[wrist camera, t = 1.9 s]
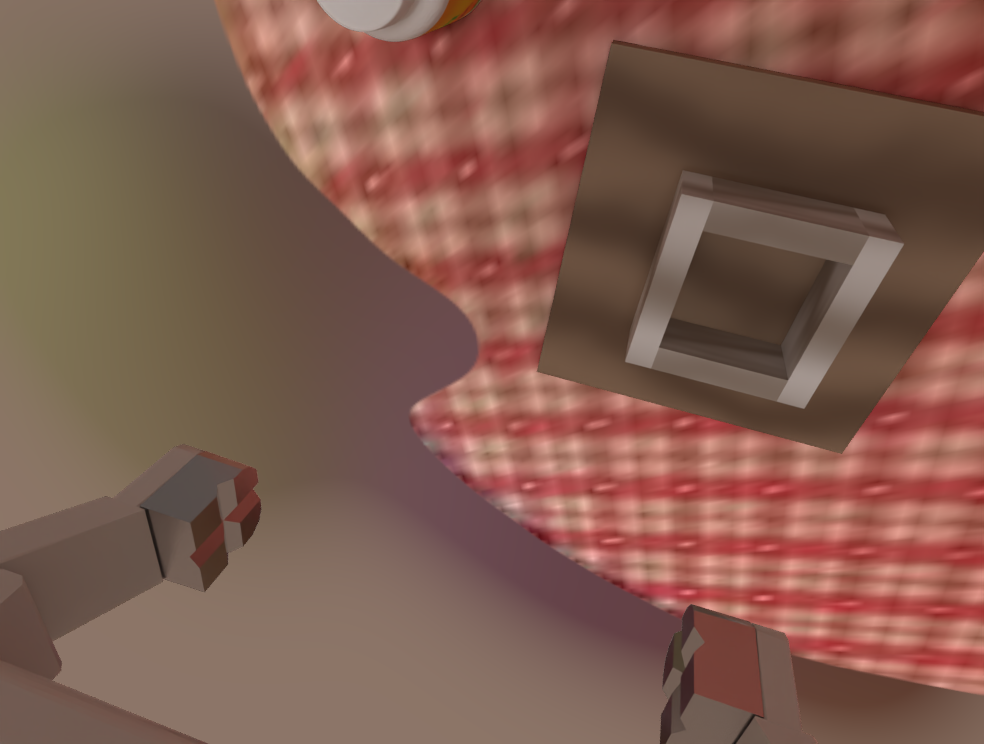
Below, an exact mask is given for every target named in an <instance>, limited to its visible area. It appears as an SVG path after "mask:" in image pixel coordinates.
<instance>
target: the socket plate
mask: <svg viewBox="0 0 984 744" xmlns="http://www.w3.org/2000/svg"><path fill="white" fill-rule="evenodd" d="M983 252H984V112H979V111H974V110H969V109H964V108H959V107H954V106H949V105H943V104H938V103H933V102H928V101H923V100H918V99H913V98H908V97H903V96H897V95H892V94H887V93H882V92H877V91H872V90H867V89H862V88H857V87H851V86H846V85H841V84H836V83H831V82H826V81H821V80H816V79H810V78H805V77H800V76H795V75H790V74H785V73H780V72H775V71H770V70H764V69H759V68H754V67H749V66H744V65H739V64H734V63H729V62H723V61H718V60H713V59H708V58H703V57H698V56H693V55H688V54H683V53H677V52H672V51H667V50H662V49H657V48H652V47H647V46H642V45H637V44H631V43H626V42H621V41H616V40H613V42H612V43H611V48H610V52H609V56H608V61H607V65H606V70H605V74H604V79H603V83H602V87H601V92H600V96H599V101H598V105H597V109H596V114H595V118H594V123H593V127H592V131H591V136H590V140H589V145H588V149H587V154H586V158H585V162H584V167H583V171H582V176H581V180H580V184H579V189H578V193H577V198H576V202H575V206H574V211H573V215H572V220H571V224H570V228H569V233H568V237H567V242H566V246H565V251H564V255H563V259H562V264H561V268H560V273H559V277H558V281H557V286H556V290H555V295H554V299H553V303H552V308H551V312H550V317H549V321H548V326H547V330H546V334H545V339H544V343H543V348H542V352H541V356H540V361H539V365H538V370H537V372H540V373H544V374H548V375H551V376H555V377H559V378H562V379H566V380H570V381H574V382H577V383H581V384H585V385H588V386H592V387H596V388H600V389H603V390H607V391H611V392H614V393H618V394H622V395H625V396H629V397H633V398H637V399H640V400H644V401H648V402H651V403H655V404H659V405H663V406H666V407H670V408H674V409H677V410H681V411H685V412H689V413H692V414H696V415H700V416H703V417H707V418H711V419H715V420H718V421H722V422H726V423H729V424H733V425H737V426H741V427H744V428H748V429H752V430H755V431H759V432H763V433H767V434H770V435H774V436H778V437H781V438H785V439H789V440H793V441H796V442H800V443H804V444H807V445H811V446H815V447H819V448H822V449H826V450H830V451H833V452H837V453H841V454H842V453H843V451H844V450H845V448H846V447H847V446H848V444H849V443H850V441H851V440H852V438H853V437H854V436H855V434H856V433H857V431H858V430H859V428H860V427H861V426H862V424H863V423H864V421H865V420H866V418H867V417H868V416H869V414H870V413H871V411H872V410H873V408H874V407H875V406H876V404H877V403H878V401H879V400H880V398H881V397H882V396H883V394H884V393H885V391H886V390H887V389H888V387H889V386H890V384H891V383H892V381H893V380H894V379H895V377H896V376H897V374H898V373H899V371H900V370H901V369H902V367H903V366H904V364H905V363H906V361H907V360H908V359H909V357H910V356H911V354H912V353H913V351H914V350H915V349H916V347H917V346H918V344H919V343H920V341H921V340H922V339H923V337H924V336H925V334H926V333H927V332H928V330H929V329H930V327H931V326H932V324H933V323H934V322H935V320H936V319H937V317H938V316H939V314H940V313H941V312H942V310H943V309H944V307H945V306H946V304H947V303H948V302H949V300H950V299H951V297H952V296H953V294H954V293H955V292H956V290H957V289H958V287H959V286H960V284H961V283H962V282H963V280H964V279H965V277H966V276H967V274H968V273H969V272H970V270H971V269H972V267H973V266H974V265H975V263H976V262H977V260H978V259H979V257H980V256H981V255H982V253H983Z"/></svg>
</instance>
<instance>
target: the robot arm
mask: <svg viewBox="0 0 984 744" xmlns="http://www.w3.org/2000/svg"><path fill="white" fill-rule="evenodd" d="M257 483H258V477H257V470H256V469H255V468H252V467H250V466H247V465H244V464H242V463H239V462H235V461H233V460H230V459H227V458H224V457H221V456H218V455H215V454H213V453H210V452H207V451H203V450H200V449H197V448H194V447H191V446H188V445H185V444H182V445H179V446H176V447H173V448H172V449H171V450H170V451H168V452H167V453H166V454H165V455H164V456H163V457H161V458H160V459H159V460H158V461H157V462H155V463H154V464H153V465H152V466H151V467H149V468H148V469H147V470H146V471H145V472H143V473H142V474H141V475H140V476H139V477H137V478H136V479H135V480H134V481H133V482H132V483H130V484H129V485H128V486H127V487H126V488H124V489H123V490H122V491H121V492H120V493H118V494H117V495H116V496H115V497H114V498H110V497H107V496H105V497H102V498H99V499H96V500H93V501H89V502H87V503H84V504H80V505H77V506H74V507H71V508H69V509H65V510H62V511H59V512H56V513H53V514H50V515H48V516H44V517H41V518H38V519H35V520H33V521H29V522H26V523H24V524H20V525H17V526H14V527H11V528H8V529H5V530H2V531H0V744H208V743H205V742H203V741H200V740H198V739H195V738H193V737H191V736H188V735H186V734H183V733H181V732H178V731H176V730H173V729H171V728H168V727H166V726H163V725H161V724H158V723H156V722H153V721H151V720H148V719H146V718H144V717H141V716H139V715H136V714H134V713H131V712H129V711H126V710H124V709H121V708H119V707H116V706H114V705H111V704H109V703H107V702H104V701H102V700H99V699H97V698H94V697H92V696H89V695H87V694H84V693H82V692H79V691H77V690H74V689H72V688H70V687H67V686H65V685H62V684H60V683H57V682H55V681H52V680H53V679H54V678H55V677H56V675H58V673H59V672H60V671H61V666H62V661H61V659H60V657H59V655H58V653H57V651H56V649H55V646H54V644H53V642H52V641H54V640H56V639H58V638H60V637H62V636H64V635H65V634H67V633H69V632H71V631H73V630H75V629H77V628H78V627H80V626H82V625H84V624H86V623H88V622H89V621H91V620H93V619H95V618H97V617H98V616H100V615H102V614H104V613H106V612H108V611H110V610H112V609H113V608H115V607H117V606H119V605H121V604H123V603H125V602H126V601H128V600H130V599H132V598H134V597H136V596H138V595H139V594H141V593H143V592H145V591H147V590H149V589H151V588H152V587H154V586H156V585H158V584H160V583H161V582H163V579H165V580H168V581H171V582H174V583H177V584H180V585H184V586H187V587H190V588H193V589H196V590H199V591H202V592H205V591H206V590H207V589H208V588H209V587H210V585H211V584H212V583H213V582H214V581H215V579H216V578H217V577H218V576H219V575H220V573H221V572H222V571H223V570H224V569H225V567H226V566H227V565H228V553H229V552H232V551H234V550H236V549H239V548H240V547H243V546H244V545H245V544H246V542H247V541H248V540H249V539H250V537H251V536H252V535H253V533H254V531H255V529H256V526H257V524H258V522H259V520H260V513H261V500H260V498H259V497H258V495H257V494H256V493H255V492H254V490H253V488H254V487H255V486H256V485H257ZM662 689H663V691H664V693H665V695H666V696H667V698H668V702H667V704H666V706H665V708H664V710H663V712H662V714H661V730H660V744H818V743H817V741H816V740H815V738H814V737H813V736H812V735H810V734H806V733H804V732H803V731H802V725H801V718H800V712H799V705H798V699H797V693H796V686H795V680H794V673H793V667H792V660H791V654H790V647H789V641H788V638H787V637H786V635H785V633H783V632H779V631H776V630H773V629H770V628H766V627H763V626H760V625H757V624H754V623H750V622H749V621H745V620H742V619H739V618H735V617H732V616H729V615H725V614H722V613H719V612H715V611H712V610H709V609H705V608H702V607H699V606H696V605H692V604H691V605H690V606H688V607H687V609H686V611H685V613H684V615H683V617H682V631H680V632H677V633H675V634H674V636H673V638H672V640H671V643H670V645H669V648H668V652H667V655H666V659H665V665H664V673H663V685H662Z"/></svg>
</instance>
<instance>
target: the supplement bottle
mask: <svg viewBox="0 0 984 744" xmlns="http://www.w3.org/2000/svg"><path fill="white" fill-rule="evenodd" d="M317 1H318V3H319V4H320V6H321V7H322V9H323V10H324V11H325V12H326V13H327V14H328V15H329V16H330V17H331V18H332V19H333V20H334V21H335V22H337V23H338V24H340V25H342V26H343V27H345V28H347V29H350V30H353V31H358V32H364V33H366V34H368V35H370V36H372V37H374V38H377V39H380V40H384V41H390V42H401V41H406V40H410V39H414V38H416V37H419V36H421V35H424V34H426V33H429V32H431V31H434V30H436V29H439V28H441V27H443V26H446V25H448V24H450V23H453V22H455V21H457V20H460V19H461V18H463V17H465V16H466V15H468V14H469V13H470V12H471V11H472V10H474V9H475V7H476V6H477V5H478V4H479V3H480V1H481V0H317Z"/></svg>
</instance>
